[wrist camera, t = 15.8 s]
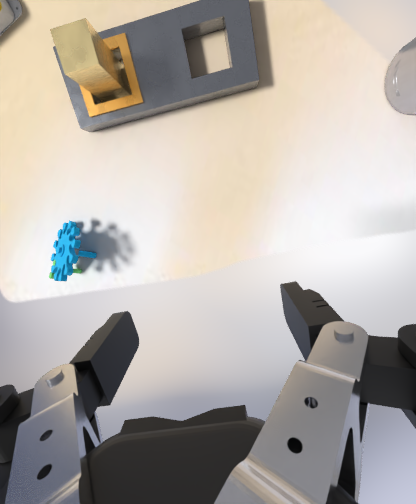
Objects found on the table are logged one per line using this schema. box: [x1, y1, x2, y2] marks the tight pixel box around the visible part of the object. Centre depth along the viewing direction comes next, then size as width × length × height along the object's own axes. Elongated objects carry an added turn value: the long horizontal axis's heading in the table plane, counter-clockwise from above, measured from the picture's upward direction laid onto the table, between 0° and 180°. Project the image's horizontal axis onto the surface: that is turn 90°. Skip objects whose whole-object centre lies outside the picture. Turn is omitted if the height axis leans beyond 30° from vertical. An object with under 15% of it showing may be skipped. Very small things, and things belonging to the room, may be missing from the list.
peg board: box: [53, 0, 259, 132], centre depth 31 cm, size 26×10×3 cm, turn 102°
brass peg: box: [50, 18, 132, 102], centre depth 29 cm, size 4×4×10 cm
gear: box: [49, 221, 96, 281], centre depth 39 cm, size 11×6×10 cm
